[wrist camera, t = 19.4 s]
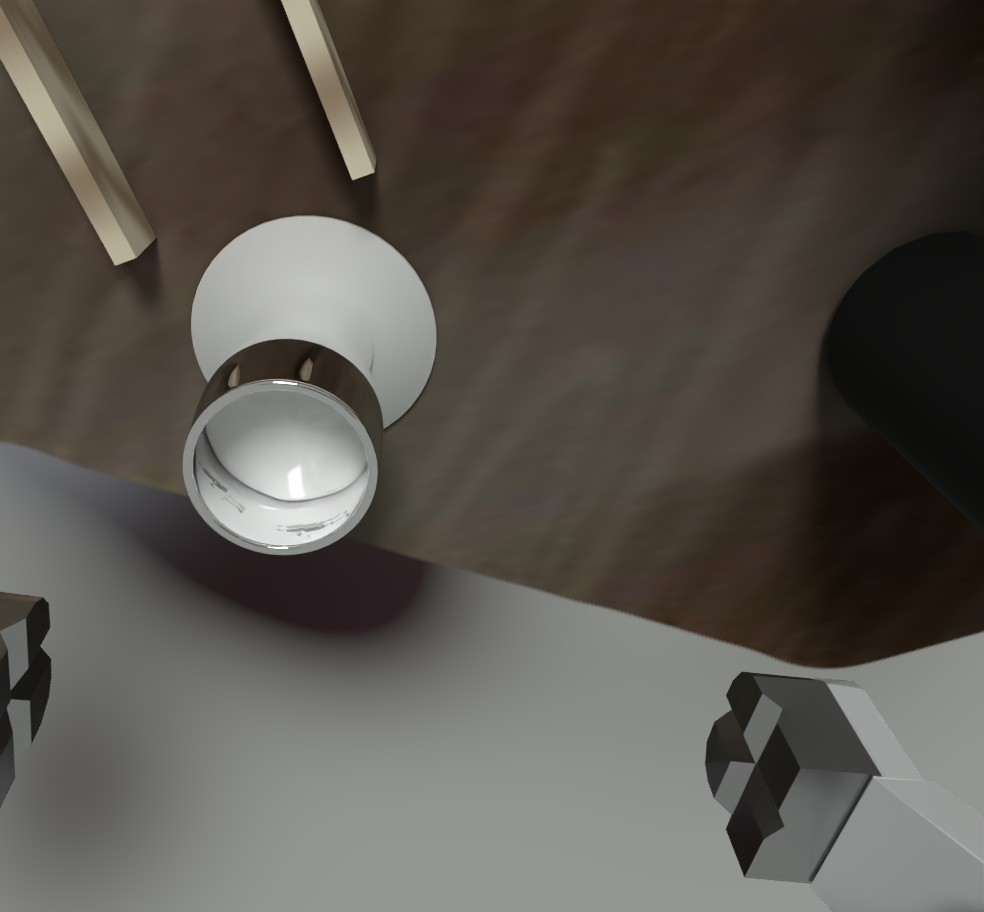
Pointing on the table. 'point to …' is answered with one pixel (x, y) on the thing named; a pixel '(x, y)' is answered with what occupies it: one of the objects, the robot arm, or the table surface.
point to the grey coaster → (328, 266)
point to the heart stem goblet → (289, 429)
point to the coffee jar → (921, 360)
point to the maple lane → (83, 149)
